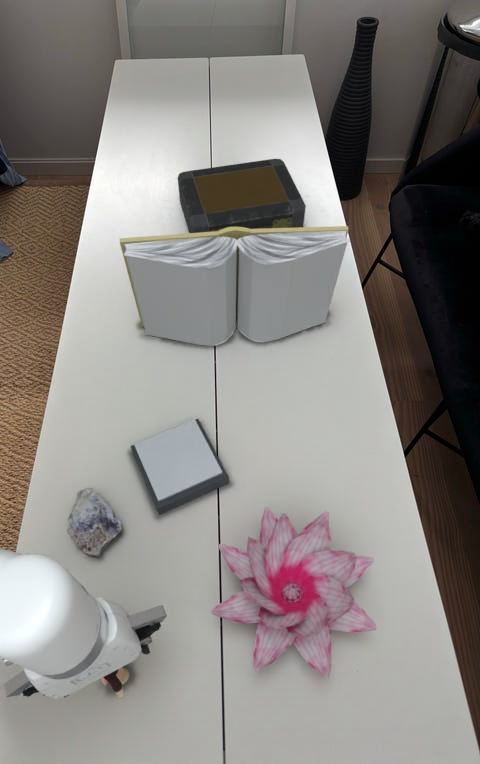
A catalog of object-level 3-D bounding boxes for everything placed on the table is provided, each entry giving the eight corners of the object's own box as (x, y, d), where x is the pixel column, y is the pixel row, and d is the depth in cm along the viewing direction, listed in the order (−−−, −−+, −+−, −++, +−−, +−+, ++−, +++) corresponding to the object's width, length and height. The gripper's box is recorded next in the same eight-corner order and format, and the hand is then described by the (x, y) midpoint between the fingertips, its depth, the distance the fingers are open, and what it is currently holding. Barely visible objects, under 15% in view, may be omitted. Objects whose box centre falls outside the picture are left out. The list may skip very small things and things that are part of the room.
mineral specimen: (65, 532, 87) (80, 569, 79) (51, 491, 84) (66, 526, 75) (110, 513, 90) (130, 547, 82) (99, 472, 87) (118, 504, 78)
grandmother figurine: (89, 659, 73) (64, 641, 63) (113, 639, 75) (93, 618, 64) (120, 710, 70) (100, 700, 60) (145, 688, 71) (129, 675, 61)
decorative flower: (357, 529, 84) (378, 488, 71) (373, 688, 71) (402, 671, 59) (217, 525, 84) (214, 484, 72) (209, 683, 72) (204, 666, 59)
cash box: (279, 183, 134) (281, 154, 127) (304, 236, 122) (308, 208, 116) (178, 198, 130) (175, 169, 124) (195, 255, 119) (192, 226, 113)
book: (324, 307, 110) (346, 219, 88) (330, 340, 106) (355, 257, 84) (142, 319, 108) (119, 233, 86) (142, 353, 105) (118, 272, 83)
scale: (159, 515, 85) (156, 507, 82) (132, 453, 91) (129, 444, 89) (228, 483, 88) (228, 475, 85) (198, 425, 94) (197, 416, 92)
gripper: (-25, 724, 46) (39, 734, 60) (167, 626, 50) (185, 656, 64) (-41, 637, 50) (23, 665, 64) (138, 552, 54) (161, 596, 68)
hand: (104, 661), depth 64 cm, fingers open, 9 cm apart
